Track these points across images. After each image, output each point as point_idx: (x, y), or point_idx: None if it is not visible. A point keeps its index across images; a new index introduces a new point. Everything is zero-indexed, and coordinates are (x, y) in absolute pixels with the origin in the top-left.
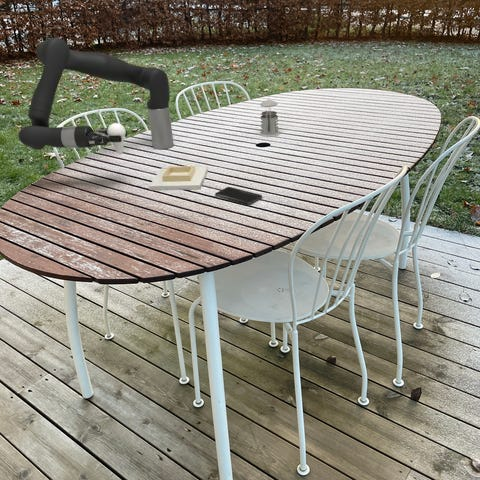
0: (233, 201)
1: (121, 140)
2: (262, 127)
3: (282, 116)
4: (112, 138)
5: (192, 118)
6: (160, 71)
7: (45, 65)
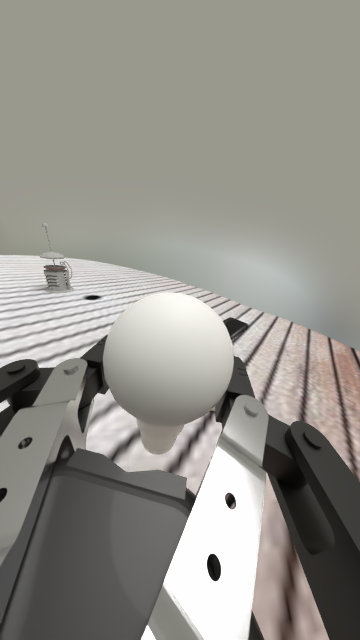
0: (242, 331)
1: None
2: (47, 284)
3: (11, 276)
4: (249, 388)
5: None
6: None
7: None
